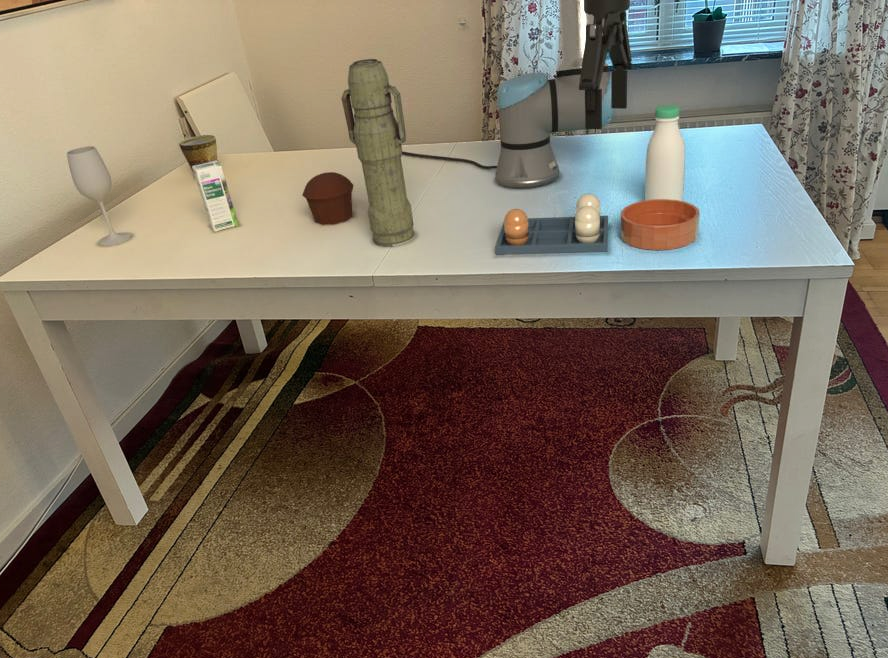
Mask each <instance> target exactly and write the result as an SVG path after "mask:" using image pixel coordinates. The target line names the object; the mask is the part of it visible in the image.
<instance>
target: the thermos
mask: <svg viewBox="0 0 888 658" xmlns="http://www.w3.org/2000/svg"><path fill="white" fill-rule="evenodd" d="M347 86H348V88H347V89H345V90H344V91H343V92H342V95H341V103H342V108H343V112H344V117H345V121H346V126H347V127H346V128H347V131H348V138H349V141H350V142H351V143H352V144H353V145H354V146H355V148H356V153H357V154H356V155H357V158H358V160H359V162H360V163H361V167H362V173H363V179H364V184H365V189H366V195H367V200H368V201H367V202H368V210H367V217H368V221H369V227H370V231H371V232H372V237H373V238H372V239H373V243H374V244H375V245H377V246H379V247H380V246H381V247H393V245H399V244H403V243H406V242H408V241H410V240H411V239H413V238H414V237H415V231H414V217H413V211H412V205H411V202H410V201H409V199H408V196H407V190H406V182H405V176H404V175H405V174H404V169H403V162H402V155H403V154H402V151H403V147H402V144H404V143H406V142H407V133H406V126H405V118H404V110H403V104H402V97H401V92H400V91H399V90H398V88H397V87H396V86H393V85H392V84H390V81H389V75H388V73H387V70H386V68H385V66H384V64H383V62H382V61H381V60H378V59H377V58H367V59H360V60H355V61H353V62H352V64H350V65H349V67H348V74H347ZM392 96H393V99H394V107H395V114H396V116H395V114H394V109H393V108H392V102H393V101H392ZM353 112H354V113H353Z"/></svg>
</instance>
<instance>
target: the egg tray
mask: <svg viewBox="0 0 888 658" xmlns="http://www.w3.org/2000/svg"><path fill="white" fill-rule="evenodd" d="M528 227H529V238H528V240H527V242H526V243H525V244H524V245H510V244H509V243H508V242H507V241H506V238H505V228H504V222H503V224H502V226H501V230H500V232H499V235H498V237H497V242H496V244H495V255H496V256H513V255H514V256H516V255H517V256H519V255H550V254H551V255H553V254H557V255H558V254H593V253H596V254H597V253H608V252H609V251H608V249H609V246H608V245H609V215H600V235H599V238H598V239H597V241H596V242H595V243H580V242H579V241H578V240H577V238H576V235H575V216H557V217H530V218H529V217H528Z"/></svg>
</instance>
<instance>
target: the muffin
mask: <svg viewBox="0 0 888 658" xmlns="http://www.w3.org/2000/svg"><path fill="white" fill-rule="evenodd" d="M353 190H354V183H352V181H351V180H350V179H349V178H348V177H347V176H344V175H343V174H341V173H339V172H334V171H333V172H332V171H329V172H323V173H319V174H316V175H315V176H313V177H311V179H309V180H308V182H307V183H306V185H305V187H304V189H303V192H302V195H301V196H302V197H303V198H305V200H306V202H307V204H308V207H309V209H310V212H311V215H312V218H313V220H314V222H315V223H316V224H319V225H321V226H325V225H326V226H327V225H337V224H340V223H344V222H347V221H348V220H349V219H352V218H353V193H352V192H353Z"/></svg>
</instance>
